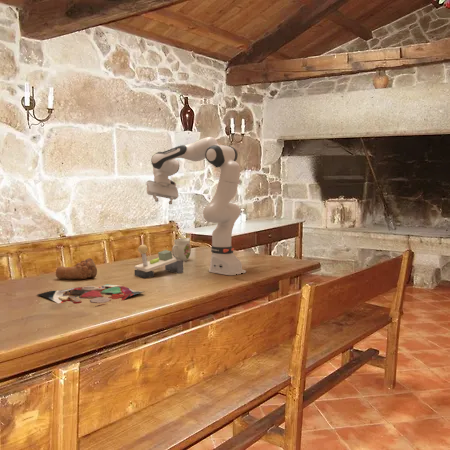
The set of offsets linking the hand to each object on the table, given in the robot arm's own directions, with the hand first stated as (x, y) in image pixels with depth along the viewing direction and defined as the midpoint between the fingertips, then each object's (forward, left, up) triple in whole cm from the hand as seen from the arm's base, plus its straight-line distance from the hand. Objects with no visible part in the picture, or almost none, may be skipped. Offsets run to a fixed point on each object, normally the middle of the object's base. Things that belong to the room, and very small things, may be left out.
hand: (163, 202), depth 281 cm
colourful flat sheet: (-38, +66, -39) cm, 86 cm away
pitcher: (+5, -17, -38) cm, 42 cm away
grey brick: (-19, +17, -38) cm, 46 cm away
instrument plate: (-19, +19, -33) cm, 42 cm away
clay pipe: (-2, +56, -39) cm, 68 cm away
